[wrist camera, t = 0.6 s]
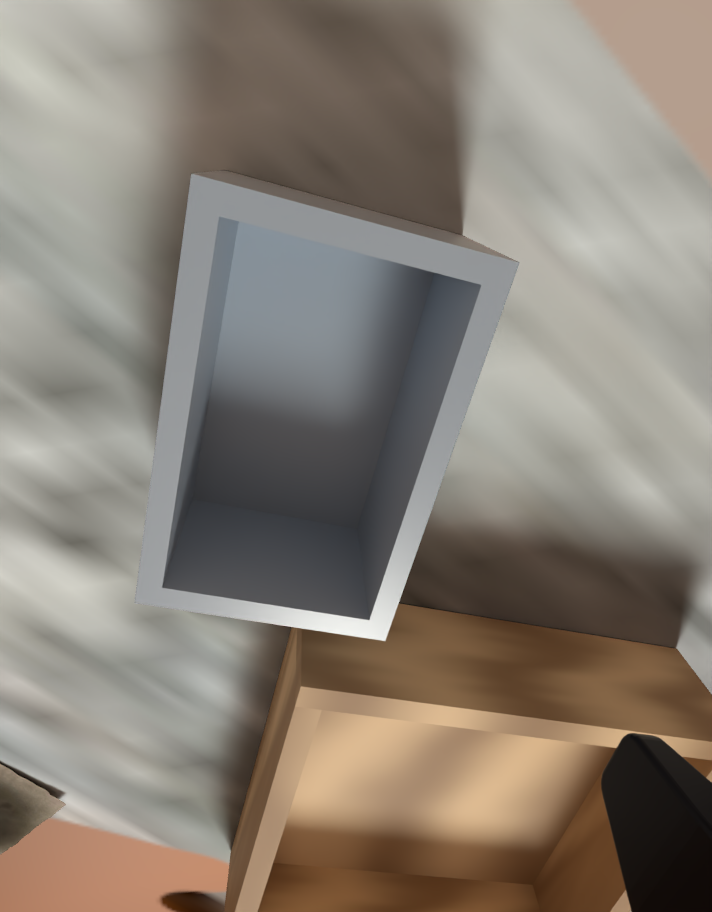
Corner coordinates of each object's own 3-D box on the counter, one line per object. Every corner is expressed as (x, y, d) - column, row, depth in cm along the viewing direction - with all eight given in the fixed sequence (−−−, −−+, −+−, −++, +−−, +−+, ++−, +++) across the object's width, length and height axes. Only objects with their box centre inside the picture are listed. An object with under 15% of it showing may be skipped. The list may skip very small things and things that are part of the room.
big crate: (676, 648, 24) (751, 747, 20) (536, 878, 30) (571, 989, 26) (302, 587, 22) (300, 686, 17) (230, 852, 28) (217, 971, 24)
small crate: (224, 170, 16) (191, 173, 11) (463, 235, 17) (519, 262, 12) (174, 502, 20) (134, 603, 15) (368, 537, 21) (385, 641, 16)
